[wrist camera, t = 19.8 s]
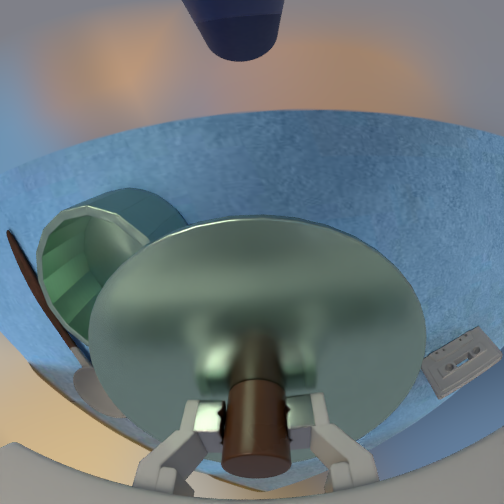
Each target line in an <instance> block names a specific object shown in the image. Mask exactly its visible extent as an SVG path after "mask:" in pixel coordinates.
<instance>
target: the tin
mask: <svg viewBox="0 0 504 504" xmlns="http://www.w3.org/2000/svg"><path fill="white" fill-rule="evenodd" d="M185 226H188V225H187V224H186V222H185V220H184V219H183V218H182V216H181V215H180V214H179V213H178V211H177V210H176V209H175V208H174V207H173V206H172V205H170V204H169V203H168V202H167V201H165V200H164V199H162V198H161V197H159V196H157V195H155V194H153V193H151V192H148V191H145V190H141V189H135V188H125V189H118V190H115V191H110V192H106V193H104V194H101V195H99V196H96V197H93V198H91V199H89V200H86V201H84V202H81V203H79V204H76V205H74V206H72V207H69V208H67V209H65V210H63V211H61V212H60V213H59V214H58V215H57V216H56V217H55V218H54V219H53V220H52V221H51V222H50V223H49V224H48V225H47V226H46V227H45V228H44V229H43V232H42V235H41V238H40V241H39V245H38V248H37V251H36V259H37V273H38V281H39V284H40V286H41V289H42V292H43V294H44V297H45V299H46V302H47V304H48V306H49V308H50V309H51V311H52V312H53V313H54V315H55V316H56V317H57V319H58V320H59V321H60V323H61V324H62V325H63V327H64V328H65V329H66V330H68V331H69V332H70V333H71V334H73V335H74V336H75V337H76V338H78V339H79V340H80V341H81V342H83V343H84V344H85V345H87V346H88V347H89V341H88V329H89V323H90V317H91V312H92V309H93V307H94V304H95V301H96V299H97V296H98V294H99V293H100V291H101V290H102V288H103V286H104V285H105V283H106V281H107V280H108V279H109V277H110V276H111V275H112V274H113V273H114V272H115V271H116V270H117V269H118V268H119V266H120V265H121V264H122V263H123V262H124V261H125V260H126V259H127V258H129V257H130V256H131V255H133V254H134V253H135V252H137V251H138V250H139V249H141V248H142V247H143V246H145V245H146V244H148V243H149V242H151V241H153V240H155V239H157V238H159V237H161V236H163V235H165V234H167V233H168V232H170V231H173V230H176V229H179V228H182V227H185Z"/></svg>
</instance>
